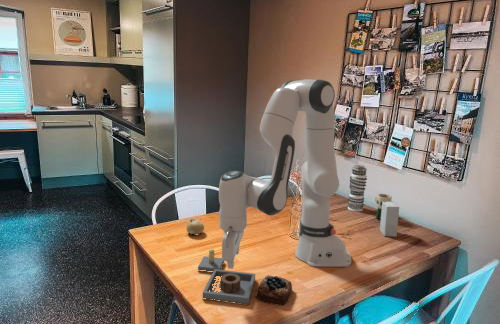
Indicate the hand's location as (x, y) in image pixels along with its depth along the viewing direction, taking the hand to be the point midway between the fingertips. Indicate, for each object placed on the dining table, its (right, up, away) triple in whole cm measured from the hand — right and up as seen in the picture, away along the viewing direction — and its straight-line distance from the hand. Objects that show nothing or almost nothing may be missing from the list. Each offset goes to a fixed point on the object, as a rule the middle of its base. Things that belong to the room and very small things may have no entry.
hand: (233, 260), depth 120 cm
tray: (-1, -11, +2) cm, 11 cm away
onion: (-20, 0, +46) cm, 50 cm away
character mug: (+75, +2, +71) cm, 104 cm away
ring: (-1, -10, +2) cm, 10 cm away
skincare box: (+71, -2, +53) cm, 89 cm away
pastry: (+13, -12, +1) cm, 18 cm away
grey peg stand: (-9, -7, +16) cm, 20 cm away
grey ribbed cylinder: (+65, +6, +86) cm, 108 cm away
